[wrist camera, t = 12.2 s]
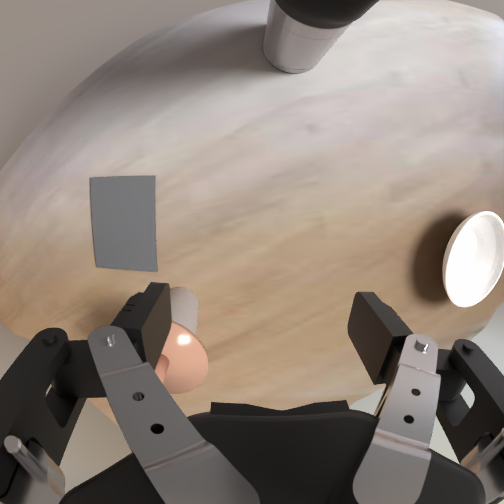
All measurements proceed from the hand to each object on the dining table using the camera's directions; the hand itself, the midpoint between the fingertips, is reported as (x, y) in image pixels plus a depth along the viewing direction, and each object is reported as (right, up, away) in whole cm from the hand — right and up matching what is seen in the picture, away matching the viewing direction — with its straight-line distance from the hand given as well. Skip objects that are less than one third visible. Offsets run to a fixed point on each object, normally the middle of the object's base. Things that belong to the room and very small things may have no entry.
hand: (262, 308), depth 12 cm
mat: (-22, +7, +32) cm, 40 cm away
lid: (-13, -12, +23) cm, 28 cm away
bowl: (+43, +3, +35) cm, 56 cm away
